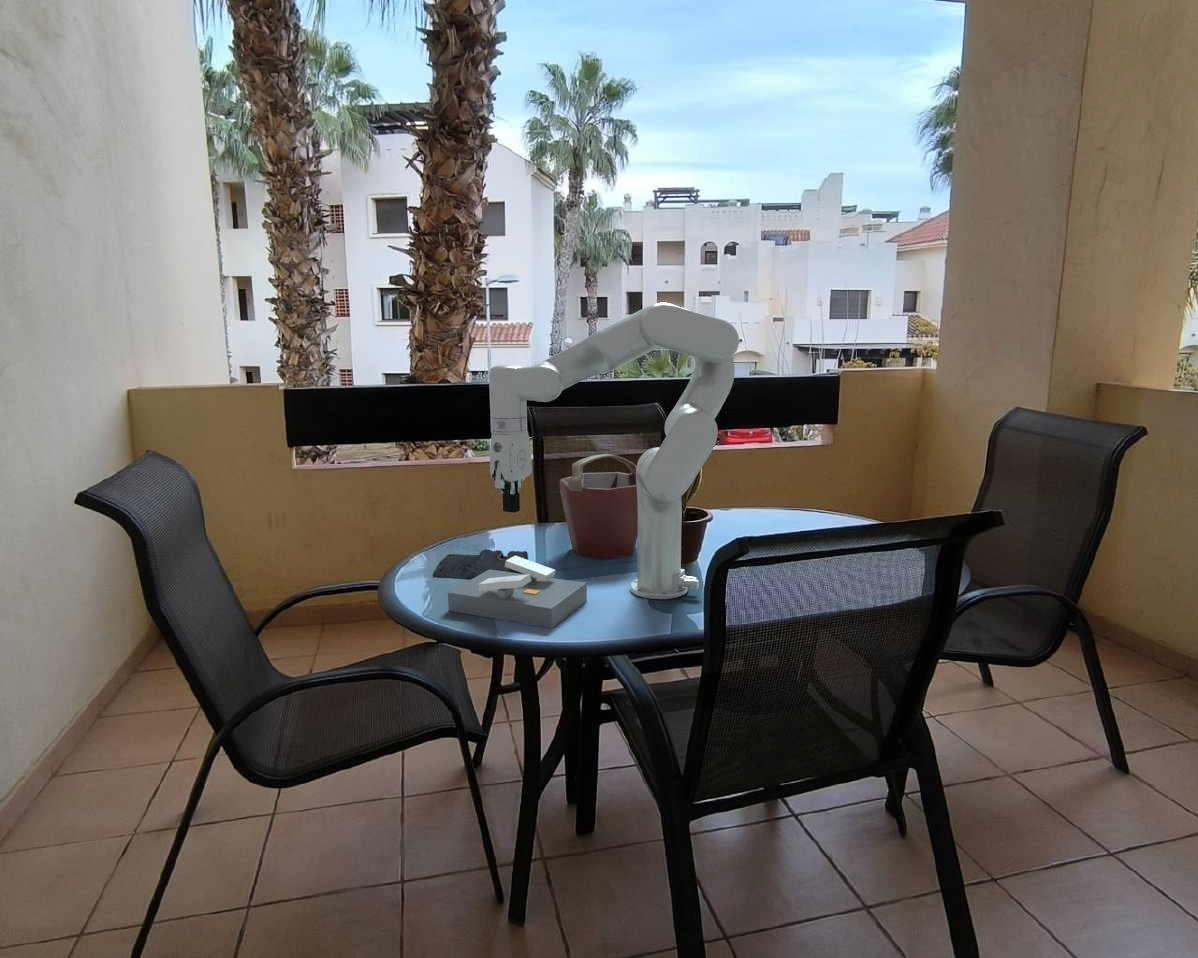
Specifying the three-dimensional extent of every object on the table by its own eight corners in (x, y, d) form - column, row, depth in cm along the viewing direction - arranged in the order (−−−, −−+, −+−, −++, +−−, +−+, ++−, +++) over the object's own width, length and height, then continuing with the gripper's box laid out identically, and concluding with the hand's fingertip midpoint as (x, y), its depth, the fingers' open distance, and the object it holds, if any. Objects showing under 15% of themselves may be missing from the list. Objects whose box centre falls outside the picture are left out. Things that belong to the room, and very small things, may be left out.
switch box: (586, 600, 159) (586, 575, 158) (552, 628, 145) (551, 600, 144) (490, 586, 169) (489, 562, 168) (448, 610, 154) (447, 584, 153)
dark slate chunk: (450, 560, 190) (449, 542, 189) (534, 563, 187) (534, 545, 186) (427, 580, 175) (426, 560, 174) (519, 583, 172) (518, 564, 171)
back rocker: (554, 575, 160) (555, 569, 160) (545, 581, 157) (546, 575, 156) (514, 561, 164) (515, 555, 163) (504, 566, 160) (505, 560, 160)
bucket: (582, 568, 181) (580, 466, 176) (542, 546, 200) (539, 453, 195) (665, 552, 193) (666, 456, 188) (619, 533, 212) (619, 445, 207)
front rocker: (531, 580, 151) (529, 574, 151) (521, 587, 147) (520, 580, 147) (490, 584, 155) (488, 578, 155) (479, 590, 152) (478, 584, 151)
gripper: (506, 430, 147) (508, 521, 151) (541, 422, 161) (543, 505, 164) (473, 429, 150) (477, 517, 154) (511, 420, 164) (513, 502, 167)
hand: (511, 511), depth 159 cm, fingers closed
